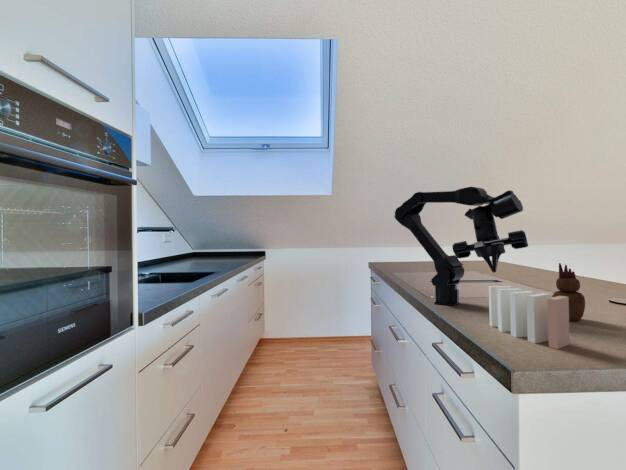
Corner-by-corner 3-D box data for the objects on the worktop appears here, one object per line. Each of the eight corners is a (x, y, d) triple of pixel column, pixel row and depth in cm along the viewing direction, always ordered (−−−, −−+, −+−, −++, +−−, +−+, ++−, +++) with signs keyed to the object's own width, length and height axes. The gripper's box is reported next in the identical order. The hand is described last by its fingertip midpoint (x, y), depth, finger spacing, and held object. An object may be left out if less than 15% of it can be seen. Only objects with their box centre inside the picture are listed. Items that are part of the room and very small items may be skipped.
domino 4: (527, 341, 70) (526, 295, 70) (543, 338, 72) (542, 293, 72) (534, 343, 69) (533, 296, 69) (551, 340, 71) (550, 294, 71)
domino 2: (498, 329, 79) (497, 289, 79) (518, 329, 79) (517, 288, 79) (501, 331, 77) (500, 290, 77) (523, 331, 77) (522, 289, 77)
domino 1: (489, 324, 83) (488, 286, 83) (511, 325, 82) (509, 286, 82) (491, 326, 81) (490, 287, 81) (513, 327, 80) (512, 287, 80)
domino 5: (548, 346, 67) (547, 298, 67) (560, 342, 69) (559, 295, 69) (557, 349, 65) (556, 299, 65) (569, 344, 68) (568, 296, 68)
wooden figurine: (555, 321, 85) (553, 263, 85) (550, 315, 90) (549, 261, 90) (588, 323, 81) (586, 264, 81) (581, 318, 87) (580, 262, 86)
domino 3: (510, 335, 74) (509, 292, 74) (529, 333, 75) (528, 290, 75) (516, 337, 73) (515, 293, 73) (535, 335, 74) (534, 292, 74)
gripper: (523, 230, 98) (536, 277, 90) (458, 242, 108) (464, 286, 100) (519, 211, 90) (533, 261, 82) (449, 226, 100) (455, 273, 92)
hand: (494, 272), depth 89 cm, fingers closed
